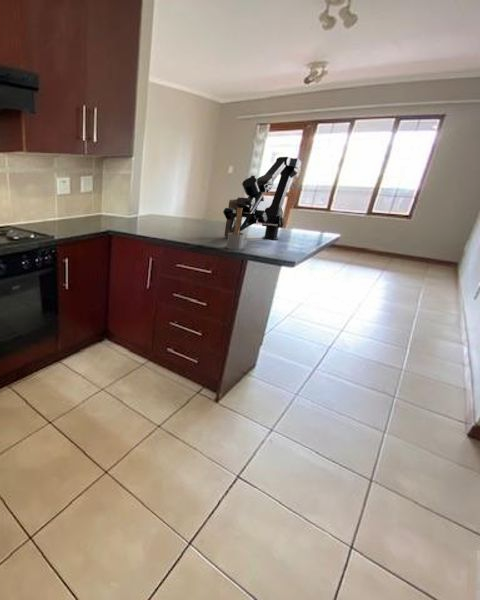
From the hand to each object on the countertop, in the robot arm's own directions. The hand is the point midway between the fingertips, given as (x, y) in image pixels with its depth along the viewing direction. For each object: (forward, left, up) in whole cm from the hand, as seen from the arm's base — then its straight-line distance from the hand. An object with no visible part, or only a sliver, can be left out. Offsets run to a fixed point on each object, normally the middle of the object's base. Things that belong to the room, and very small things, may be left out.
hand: (235, 229), depth 151 cm
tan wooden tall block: (-25, -3, -9) cm, 27 cm away
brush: (-1, +1, -8) cm, 9 cm away
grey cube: (-1, +1, -9) cm, 9 cm away
